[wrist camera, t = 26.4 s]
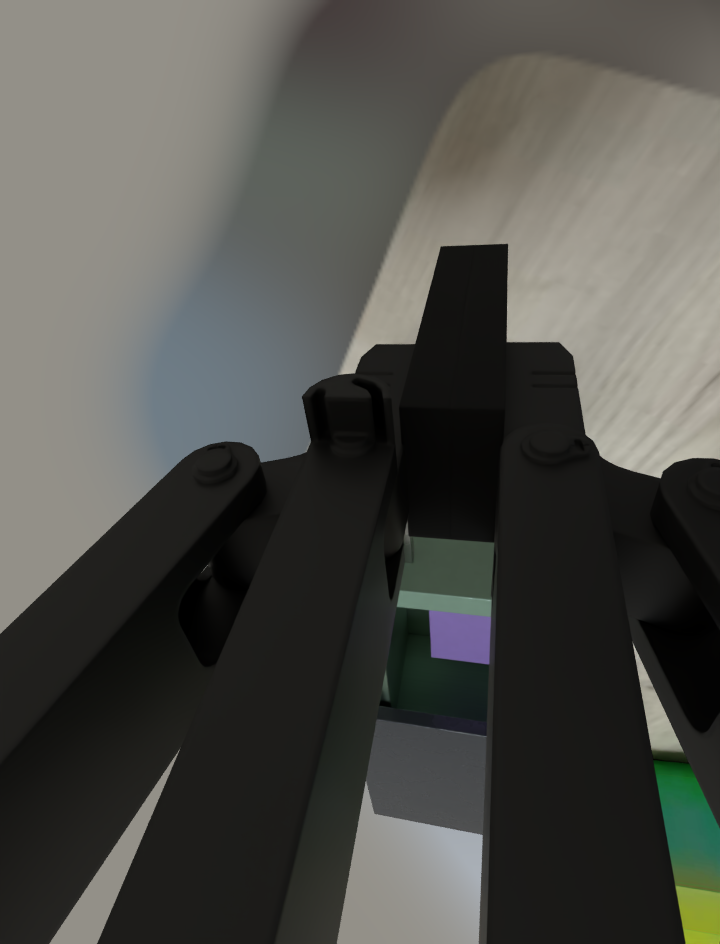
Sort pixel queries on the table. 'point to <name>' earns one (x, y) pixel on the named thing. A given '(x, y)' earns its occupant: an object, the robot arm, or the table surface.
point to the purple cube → (460, 636)
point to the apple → (691, 850)
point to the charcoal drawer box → (428, 769)
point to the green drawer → (409, 659)
